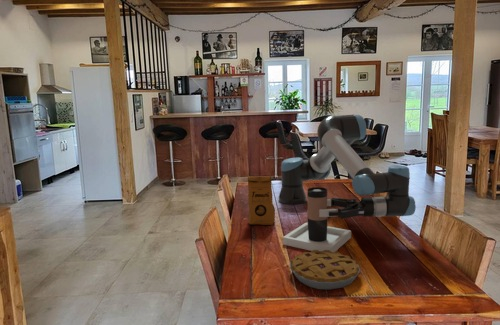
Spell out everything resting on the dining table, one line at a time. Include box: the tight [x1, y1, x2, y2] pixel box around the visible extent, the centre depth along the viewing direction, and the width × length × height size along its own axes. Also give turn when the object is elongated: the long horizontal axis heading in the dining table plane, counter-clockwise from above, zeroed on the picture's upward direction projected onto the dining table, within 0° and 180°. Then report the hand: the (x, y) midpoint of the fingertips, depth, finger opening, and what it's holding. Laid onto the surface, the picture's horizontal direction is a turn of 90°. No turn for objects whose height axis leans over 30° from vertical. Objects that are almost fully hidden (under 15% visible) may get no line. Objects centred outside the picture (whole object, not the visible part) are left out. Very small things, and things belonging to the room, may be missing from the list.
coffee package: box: [247, 176, 276, 226], centre depth 170 cm, size 10×12×22 cm
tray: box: [282, 221, 352, 252], centre depth 148 cm, size 20×20×3 cm
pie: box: [289, 250, 361, 290], centre depth 120 cm, size 22×22×5 cm
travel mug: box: [307, 186, 328, 242], centre depth 146 cm, size 8×8×20 cm
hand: (316, 207), depth 146 cm, fingers open, 13 cm apart
